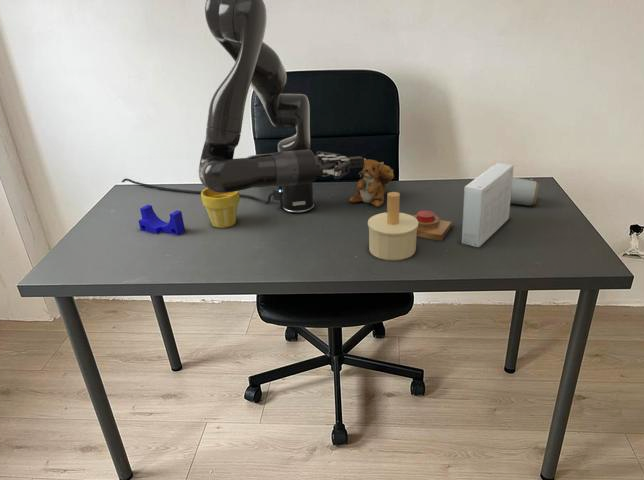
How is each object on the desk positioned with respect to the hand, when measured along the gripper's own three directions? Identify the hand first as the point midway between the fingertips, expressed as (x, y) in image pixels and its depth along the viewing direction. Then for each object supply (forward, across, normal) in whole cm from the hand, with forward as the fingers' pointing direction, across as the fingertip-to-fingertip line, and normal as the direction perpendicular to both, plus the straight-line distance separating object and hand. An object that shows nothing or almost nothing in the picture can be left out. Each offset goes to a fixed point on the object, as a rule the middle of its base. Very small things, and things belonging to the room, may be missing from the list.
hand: (362, 161), depth 127 cm
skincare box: (+36, -5, +21) cm, 42 cm away
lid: (+8, -3, +16) cm, 18 cm away
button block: (+22, +3, +22) cm, 31 cm away
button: (+22, +3, +19) cm, 29 cm away
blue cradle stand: (-44, +34, +28) cm, 62 cm away
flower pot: (-27, +32, +27) cm, 49 cm away
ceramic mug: (+58, +7, +20) cm, 61 cm away
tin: (+9, -3, +23) cm, 25 cm away
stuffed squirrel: (+19, +29, +24) cm, 42 cm away
